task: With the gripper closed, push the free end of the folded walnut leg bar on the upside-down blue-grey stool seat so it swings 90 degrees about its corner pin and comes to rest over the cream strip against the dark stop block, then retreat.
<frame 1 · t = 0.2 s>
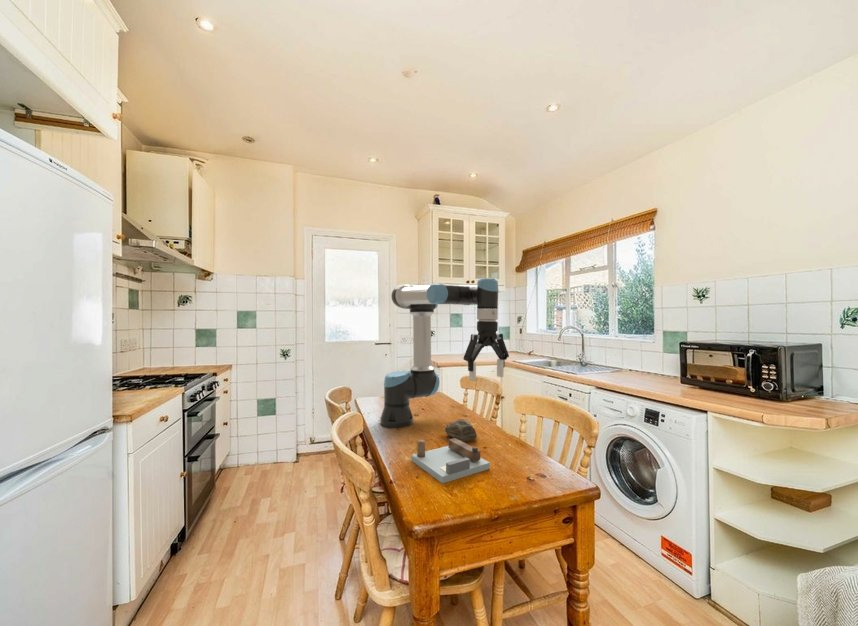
hand: (486, 378, 127), 27 cm above the table, fingers open, 13 cm apart
stone: (460, 437, 143), on the table
leg: (463, 447, 120), point 4 cm above the table, hinge at 0.0°
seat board: (449, 464, 117), on the table
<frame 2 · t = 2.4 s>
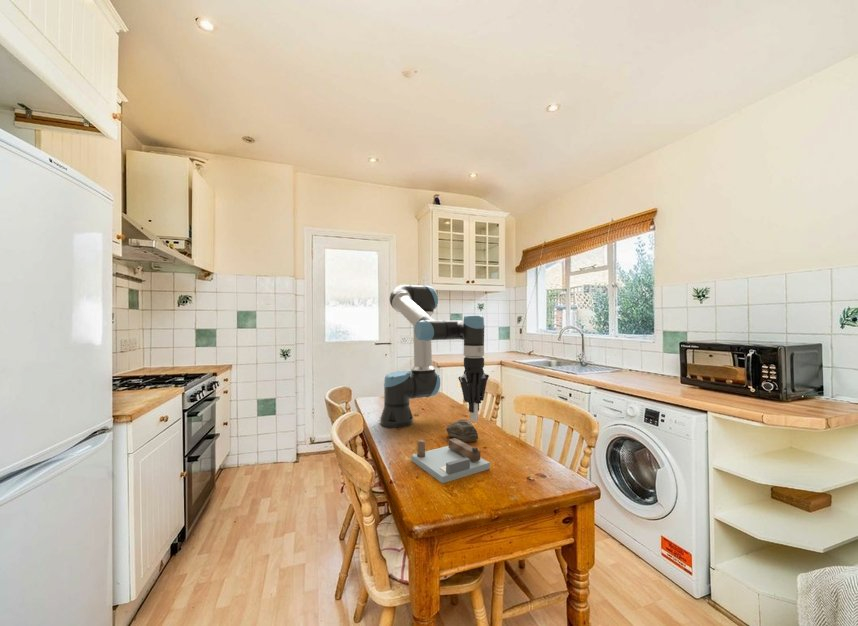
hand: (474, 420, 128), 11 cm above the table, fingers closed
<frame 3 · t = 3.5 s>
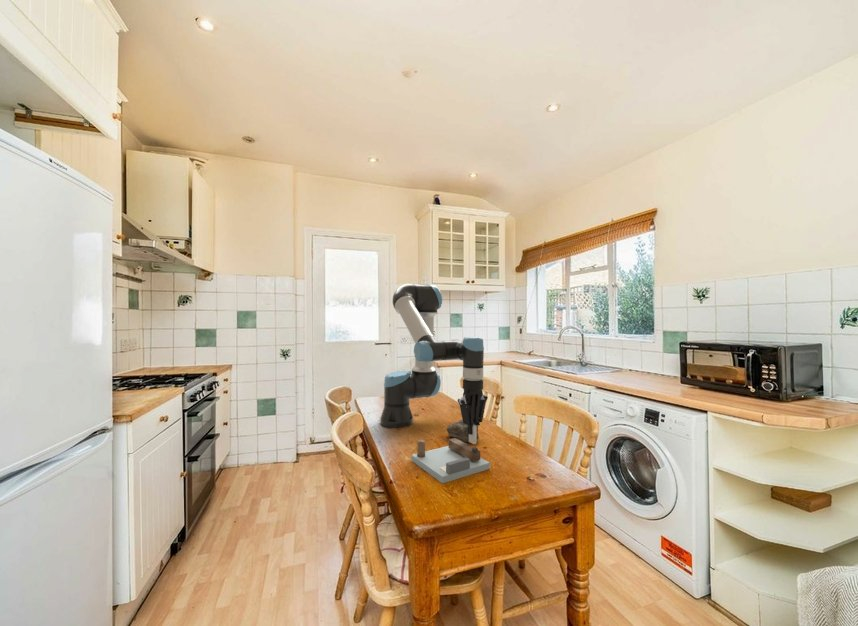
hand: (472, 442, 128), 3 cm above the table, fingers closed
nothing on the table moved.
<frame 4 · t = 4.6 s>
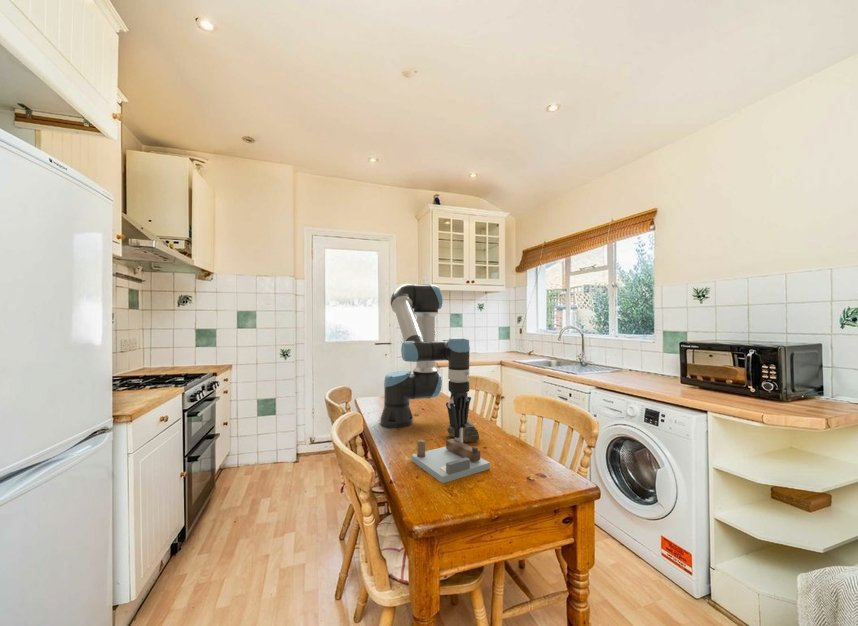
hand: (458, 445, 125), 3 cm above the table, fingers closed
leg: (462, 448, 120), point 4 cm above the table, hinge at 5.3°, touching gripper
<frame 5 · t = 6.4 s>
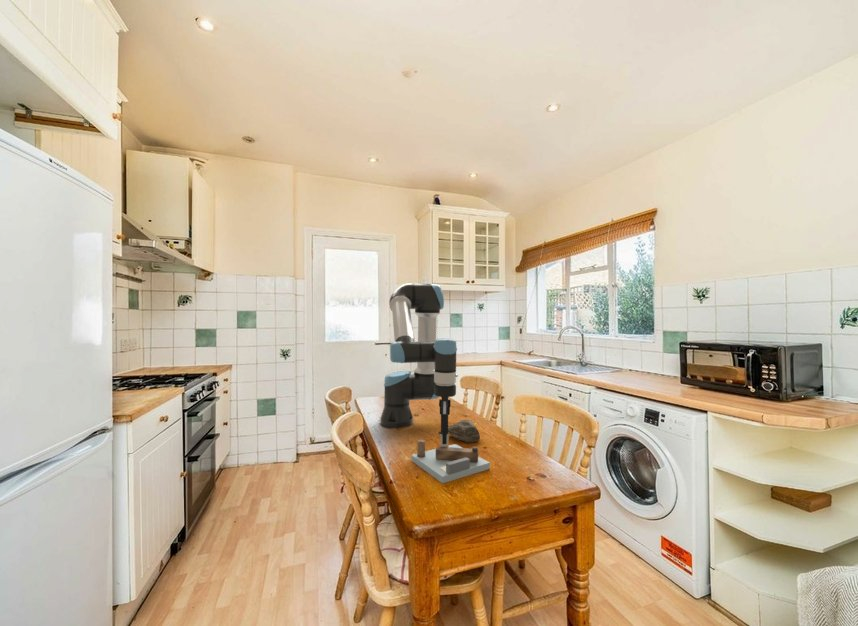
hand: (444, 451, 119), 3 cm above the table, fingers closed
leg: (456, 452, 116), point 4 cm above the table, hinge at 47.5°, touching gripper
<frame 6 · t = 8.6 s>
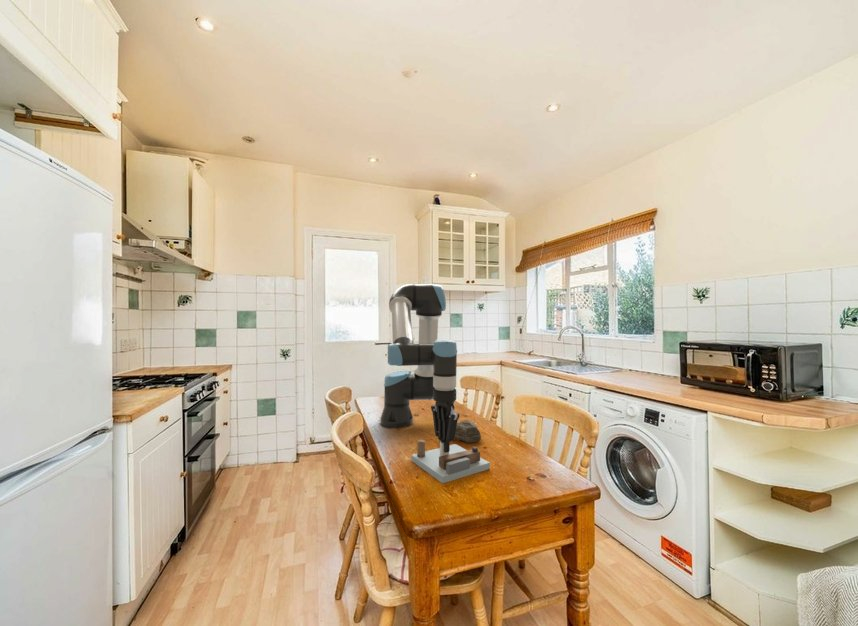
hand: (444, 460, 112), 3 cm above the table, fingers closed
leg: (459, 457, 112), point 4 cm above the table, hinge at 86.0°, touching gripper
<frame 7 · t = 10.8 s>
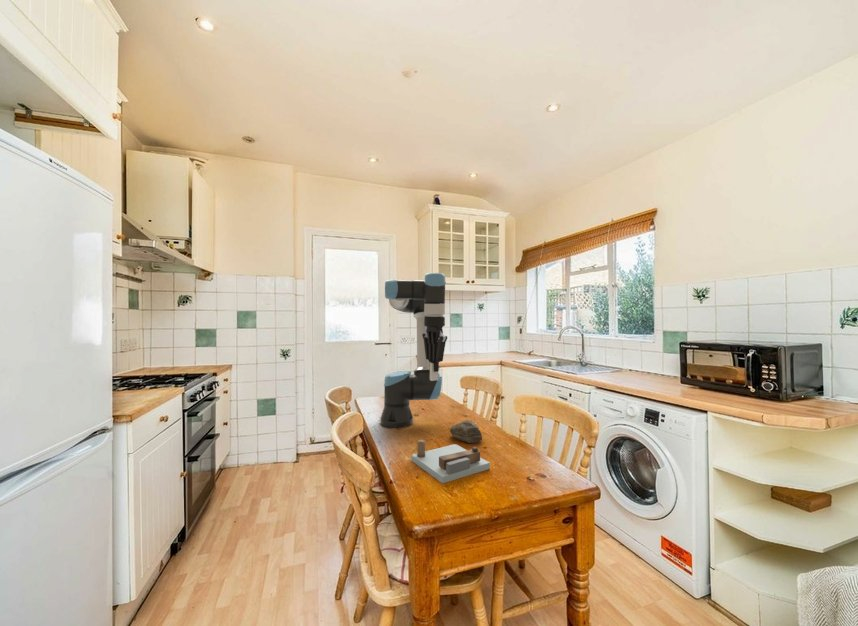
hand: (433, 380, 127), 27 cm above the table, fingers closed
leg: (459, 457, 112), point 4 cm above the table, hinge at 86.1°
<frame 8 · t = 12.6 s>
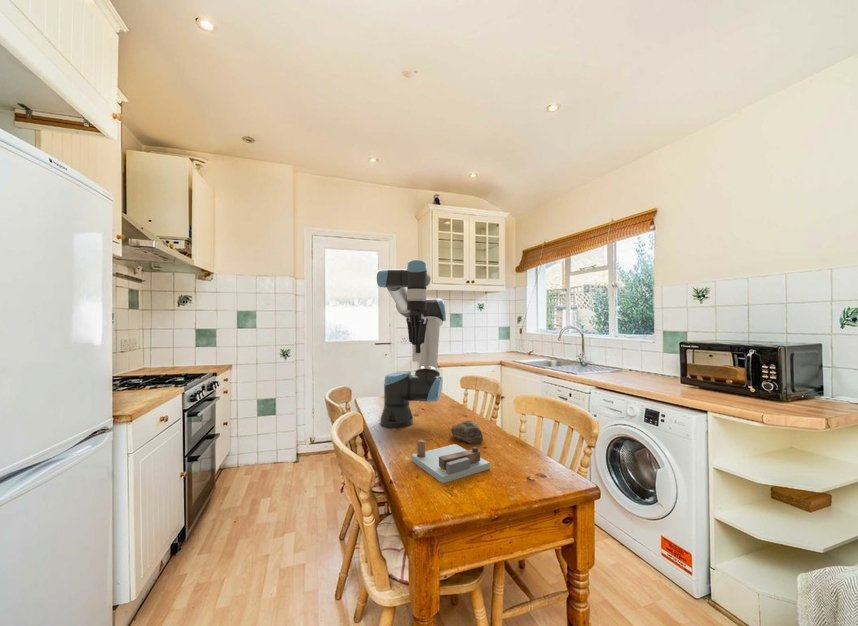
hand: (416, 361, 134), 32 cm above the table, fingers closed
at the end: leg at +86° (first picture: +0°); the gripper is holding nothing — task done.
